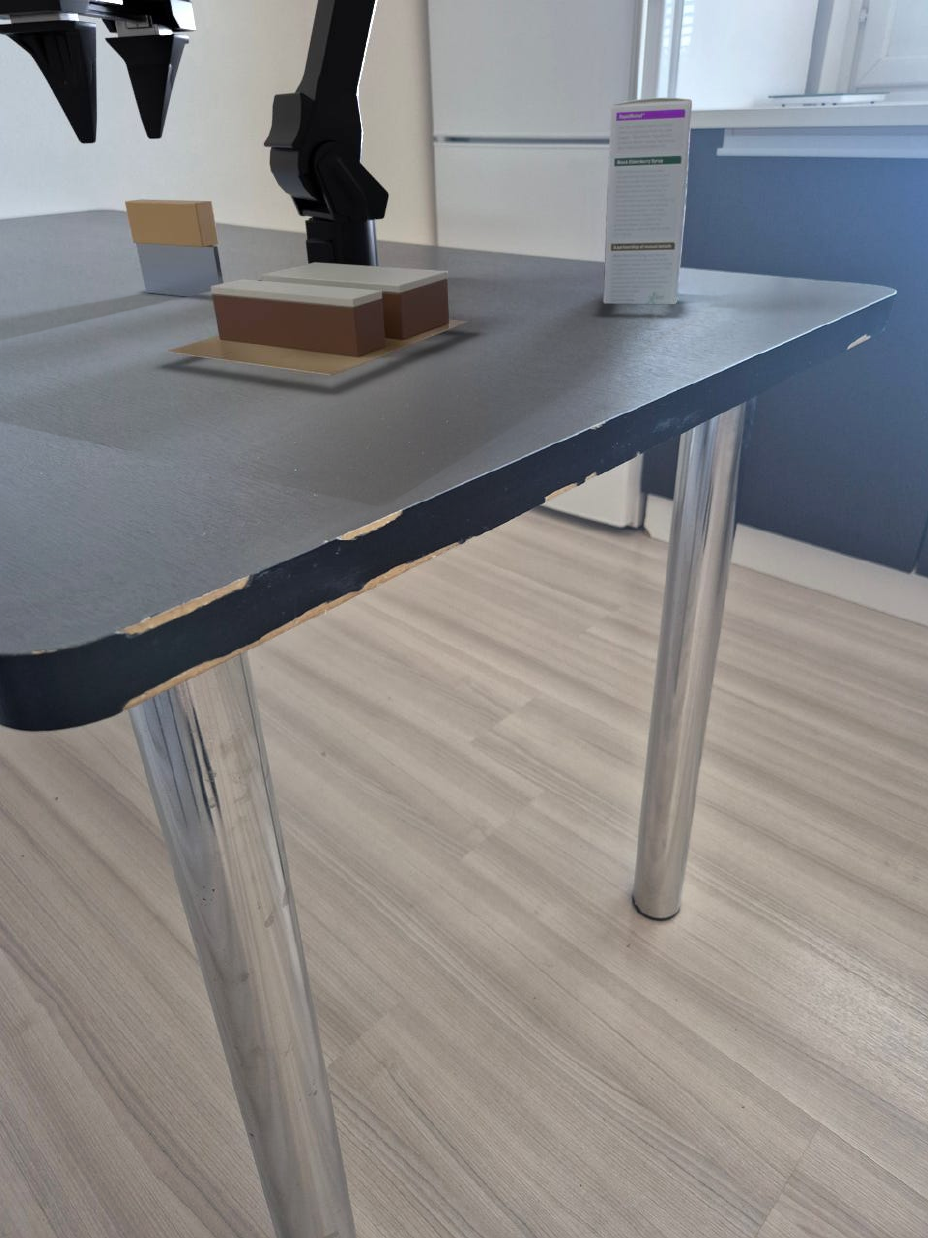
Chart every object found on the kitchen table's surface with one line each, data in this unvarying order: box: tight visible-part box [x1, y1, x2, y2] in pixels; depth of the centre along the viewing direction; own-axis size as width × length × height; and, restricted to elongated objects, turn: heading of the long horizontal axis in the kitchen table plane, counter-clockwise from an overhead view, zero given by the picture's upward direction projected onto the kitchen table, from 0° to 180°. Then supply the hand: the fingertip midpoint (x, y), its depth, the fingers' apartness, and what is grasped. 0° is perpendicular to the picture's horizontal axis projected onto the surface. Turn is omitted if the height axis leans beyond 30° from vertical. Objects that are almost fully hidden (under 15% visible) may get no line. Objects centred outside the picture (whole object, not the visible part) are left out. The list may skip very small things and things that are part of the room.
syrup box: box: [602, 97, 693, 305], centre depth 64 cm, size 6×6×14 cm
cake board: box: [165, 319, 469, 376], centre depth 59 cm, size 16×14×1 cm
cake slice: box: [210, 278, 386, 357], centre depth 56 cm, size 3×12×4 cm, turn 59°
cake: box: [261, 262, 450, 340], centre depth 61 cm, size 6×12×4 cm, turn 59°
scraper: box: [124, 198, 225, 297], centre depth 77 cm, size 10×2×8 cm, turn 59°
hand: (123, 140), depth 65 cm, fingers open, 9 cm apart
